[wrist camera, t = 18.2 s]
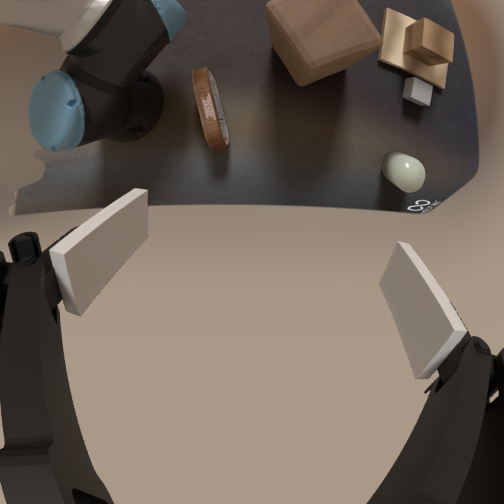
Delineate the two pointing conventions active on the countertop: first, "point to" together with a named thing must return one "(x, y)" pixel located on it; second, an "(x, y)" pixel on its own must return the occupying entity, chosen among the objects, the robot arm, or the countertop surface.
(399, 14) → the board
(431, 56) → the walnut block
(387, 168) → the pale green rounded cylinder
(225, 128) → the tin
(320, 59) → the block
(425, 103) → the slate cube
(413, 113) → the countertop surface
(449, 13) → the countertop surface
